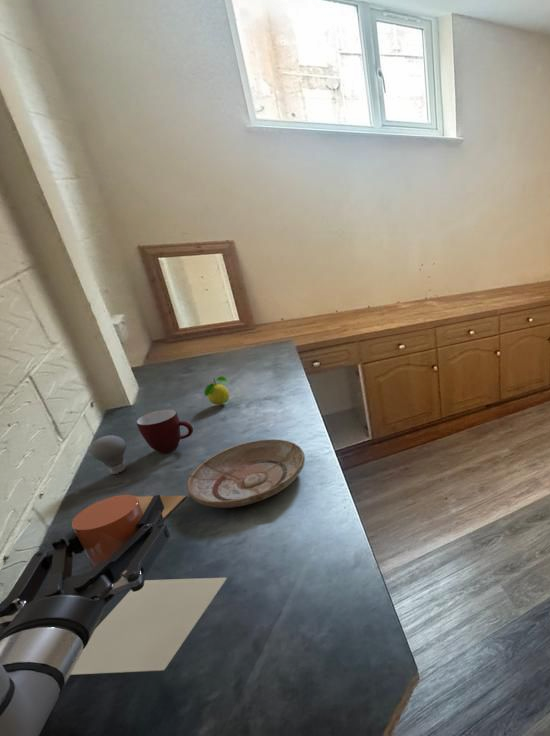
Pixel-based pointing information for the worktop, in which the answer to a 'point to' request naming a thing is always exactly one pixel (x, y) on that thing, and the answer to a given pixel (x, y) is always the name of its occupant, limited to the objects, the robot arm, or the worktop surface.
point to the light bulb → (110, 452)
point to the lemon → (217, 392)
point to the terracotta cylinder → (107, 526)
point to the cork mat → (167, 501)
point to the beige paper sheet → (147, 626)
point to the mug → (162, 429)
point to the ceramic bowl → (246, 473)
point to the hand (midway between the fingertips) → (128, 508)
